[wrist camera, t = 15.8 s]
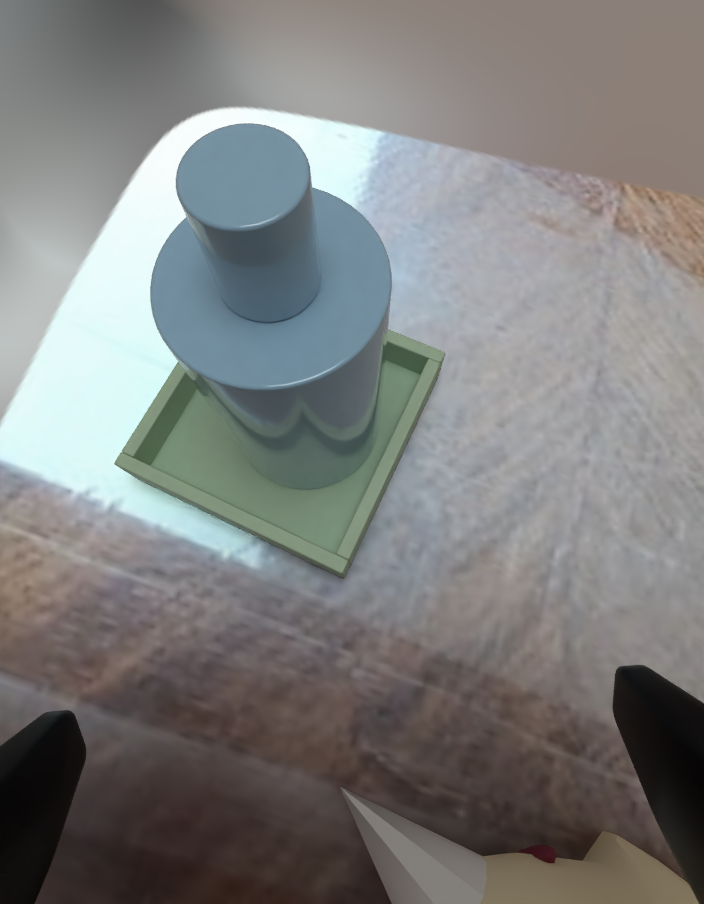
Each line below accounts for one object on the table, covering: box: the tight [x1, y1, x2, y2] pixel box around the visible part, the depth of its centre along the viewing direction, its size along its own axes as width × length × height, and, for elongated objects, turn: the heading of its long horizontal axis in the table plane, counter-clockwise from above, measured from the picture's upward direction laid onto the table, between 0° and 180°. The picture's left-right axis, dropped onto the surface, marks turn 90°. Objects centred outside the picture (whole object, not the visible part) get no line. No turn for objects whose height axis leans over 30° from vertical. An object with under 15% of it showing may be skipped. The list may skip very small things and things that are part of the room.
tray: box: [115, 330, 445, 578], centre depth 20 cm, size 9×9×2 cm
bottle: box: [150, 124, 392, 489], centre depth 15 cm, size 6×6×12 cm
